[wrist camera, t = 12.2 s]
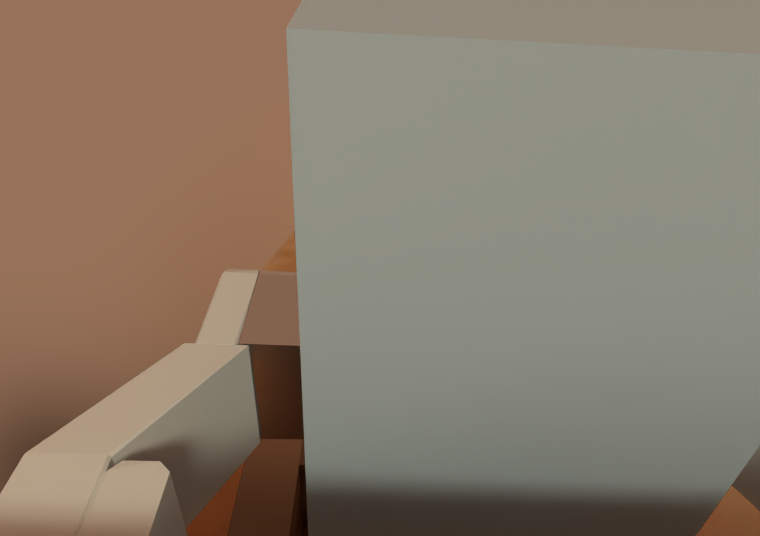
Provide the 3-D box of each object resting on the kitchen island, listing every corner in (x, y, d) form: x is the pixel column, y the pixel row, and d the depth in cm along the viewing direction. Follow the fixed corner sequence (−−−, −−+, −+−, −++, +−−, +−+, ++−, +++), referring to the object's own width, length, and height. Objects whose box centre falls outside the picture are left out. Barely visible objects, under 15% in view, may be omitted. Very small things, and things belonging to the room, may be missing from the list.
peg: (333, 496, 14) (336, -62, 7) (514, 502, 14) (695, -41, 7) (316, 721, 10) (286, 27, 3) (559, 726, 10) (1026, 69, 3)
